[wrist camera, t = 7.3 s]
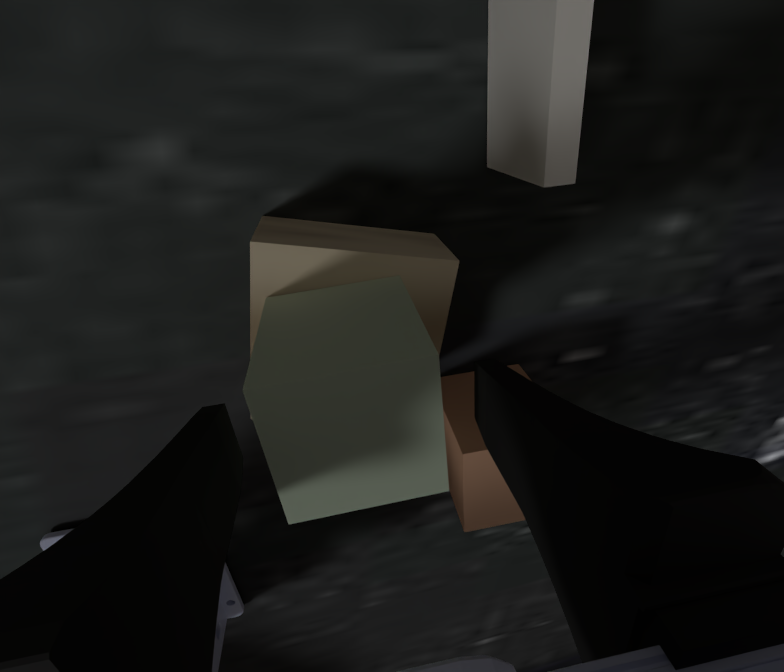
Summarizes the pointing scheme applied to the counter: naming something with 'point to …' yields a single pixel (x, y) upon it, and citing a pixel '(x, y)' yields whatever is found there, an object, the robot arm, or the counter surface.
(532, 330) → the counter surface
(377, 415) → the sage block
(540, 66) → the placard
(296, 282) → the birch base block
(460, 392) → the terracotta block
